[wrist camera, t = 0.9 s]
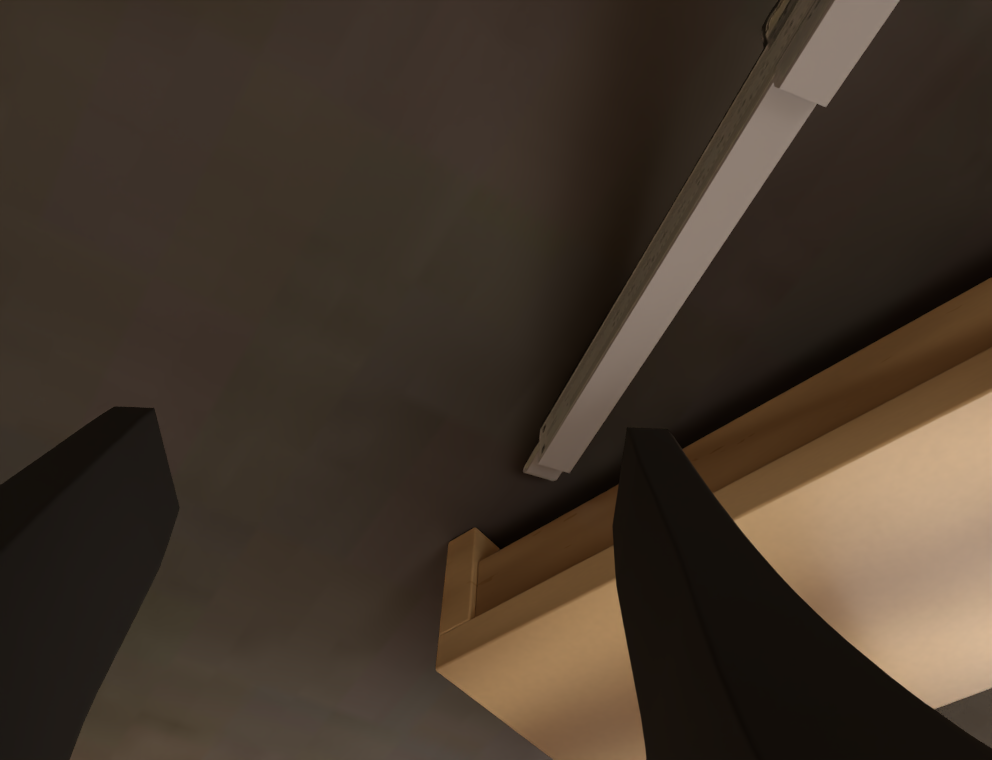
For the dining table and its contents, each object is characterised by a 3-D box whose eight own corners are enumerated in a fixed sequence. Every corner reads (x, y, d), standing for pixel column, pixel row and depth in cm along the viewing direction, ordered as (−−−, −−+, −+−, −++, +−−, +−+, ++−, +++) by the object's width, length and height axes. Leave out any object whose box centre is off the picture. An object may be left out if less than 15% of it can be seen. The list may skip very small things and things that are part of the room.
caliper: (932, -377, 14) (1161, -486, 9) (985, -349, 15) (1239, -442, 9) (522, 462, 25) (521, 627, 20) (555, 472, 26) (562, 638, 20)
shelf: (1433, 329, 22) (1646, 448, 18) (618, 689, 31) (632, 821, 27) (1364, 12, 18) (1621, 72, 13) (447, 541, 27) (434, 670, 23)
